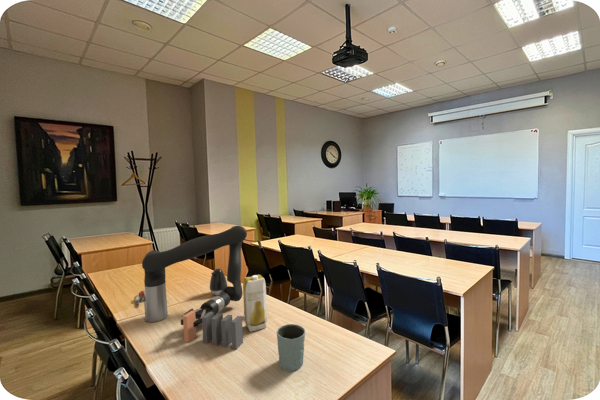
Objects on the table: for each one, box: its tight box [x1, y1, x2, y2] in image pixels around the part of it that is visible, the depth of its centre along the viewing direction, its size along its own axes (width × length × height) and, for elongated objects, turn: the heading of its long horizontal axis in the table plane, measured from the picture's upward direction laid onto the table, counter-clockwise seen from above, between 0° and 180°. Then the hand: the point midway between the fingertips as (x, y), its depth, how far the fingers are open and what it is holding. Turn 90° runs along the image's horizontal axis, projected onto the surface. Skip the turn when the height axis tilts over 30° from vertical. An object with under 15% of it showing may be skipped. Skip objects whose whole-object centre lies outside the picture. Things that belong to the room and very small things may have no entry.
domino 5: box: [231, 315, 244, 351], centre depth 112 cm, size 2×5×11 cm, turn 160°
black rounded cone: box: [209, 268, 228, 296], centre depth 166 cm, size 10×10×15 cm
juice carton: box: [242, 274, 268, 333], centre depth 125 cm, size 9×8×24 cm
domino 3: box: [211, 312, 224, 347], centre depth 115 cm, size 2×5×11 cm, turn 161°
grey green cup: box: [276, 323, 306, 372], centre depth 100 cm, size 10×10×12 cm
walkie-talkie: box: [135, 289, 146, 308], centre depth 161 cm, size 9×4×20 cm
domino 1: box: [182, 310, 197, 343], centre depth 118 cm, size 2×5×11 cm, turn 160°
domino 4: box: [221, 314, 233, 349], centre depth 113 cm, size 2×5×11 cm, turn 160°
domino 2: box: [201, 312, 214, 345], centre depth 116 cm, size 2×5×11 cm, turn 160°
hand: (187, 323), depth 117 cm, fingers open, 6 cm apart
